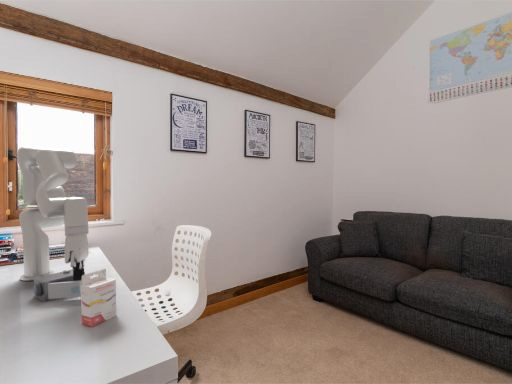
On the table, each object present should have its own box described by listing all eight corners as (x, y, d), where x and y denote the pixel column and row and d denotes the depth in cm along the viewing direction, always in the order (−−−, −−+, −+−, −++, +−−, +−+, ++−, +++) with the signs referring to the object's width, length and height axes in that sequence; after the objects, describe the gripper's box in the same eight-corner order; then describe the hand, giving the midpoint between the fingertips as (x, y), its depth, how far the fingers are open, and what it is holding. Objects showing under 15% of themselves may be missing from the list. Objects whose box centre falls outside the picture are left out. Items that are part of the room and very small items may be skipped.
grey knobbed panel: (29, 298, 108) (28, 277, 108) (74, 285, 121) (73, 267, 121) (39, 303, 103) (39, 281, 103) (85, 289, 116) (84, 270, 116)
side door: (46, 298, 105) (45, 282, 105) (81, 295, 107) (81, 279, 107) (43, 300, 103) (43, 284, 103) (79, 297, 105) (79, 281, 105)
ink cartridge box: (92, 327, 85) (90, 277, 84) (81, 324, 87) (79, 275, 86) (117, 315, 92) (116, 269, 92) (106, 312, 95) (105, 267, 94)
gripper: (74, 228, 115) (76, 274, 116) (56, 234, 101) (58, 287, 101) (94, 227, 117) (96, 272, 117) (79, 232, 102) (82, 284, 102)
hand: (79, 279), depth 109 cm, fingers closed
